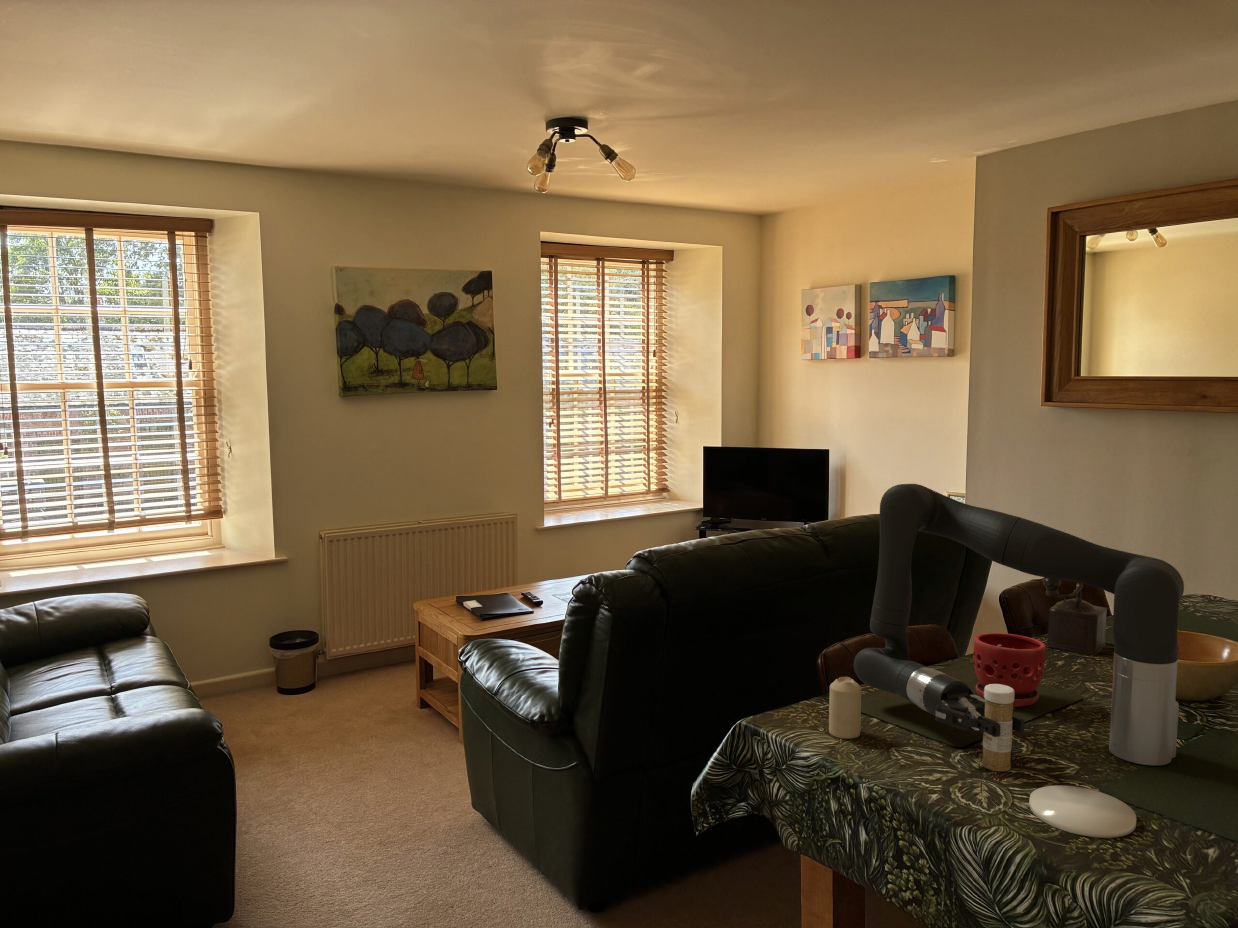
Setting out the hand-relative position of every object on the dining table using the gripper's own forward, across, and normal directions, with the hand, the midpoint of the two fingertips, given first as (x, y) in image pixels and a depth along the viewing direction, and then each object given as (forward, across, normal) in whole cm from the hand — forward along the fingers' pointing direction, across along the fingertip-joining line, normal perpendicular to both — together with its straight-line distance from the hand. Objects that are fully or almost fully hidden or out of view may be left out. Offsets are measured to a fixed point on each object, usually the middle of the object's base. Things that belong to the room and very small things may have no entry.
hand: (1010, 728), depth 147 cm
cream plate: (+14, 0, +8) cm, 16 cm away
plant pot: (-27, +25, +8) cm, 37 cm away
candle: (-24, -15, +8) cm, 29 cm away
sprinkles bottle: (-3, 0, +8) cm, 8 cm away
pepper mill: (-47, +63, +8) cm, 79 cm away
